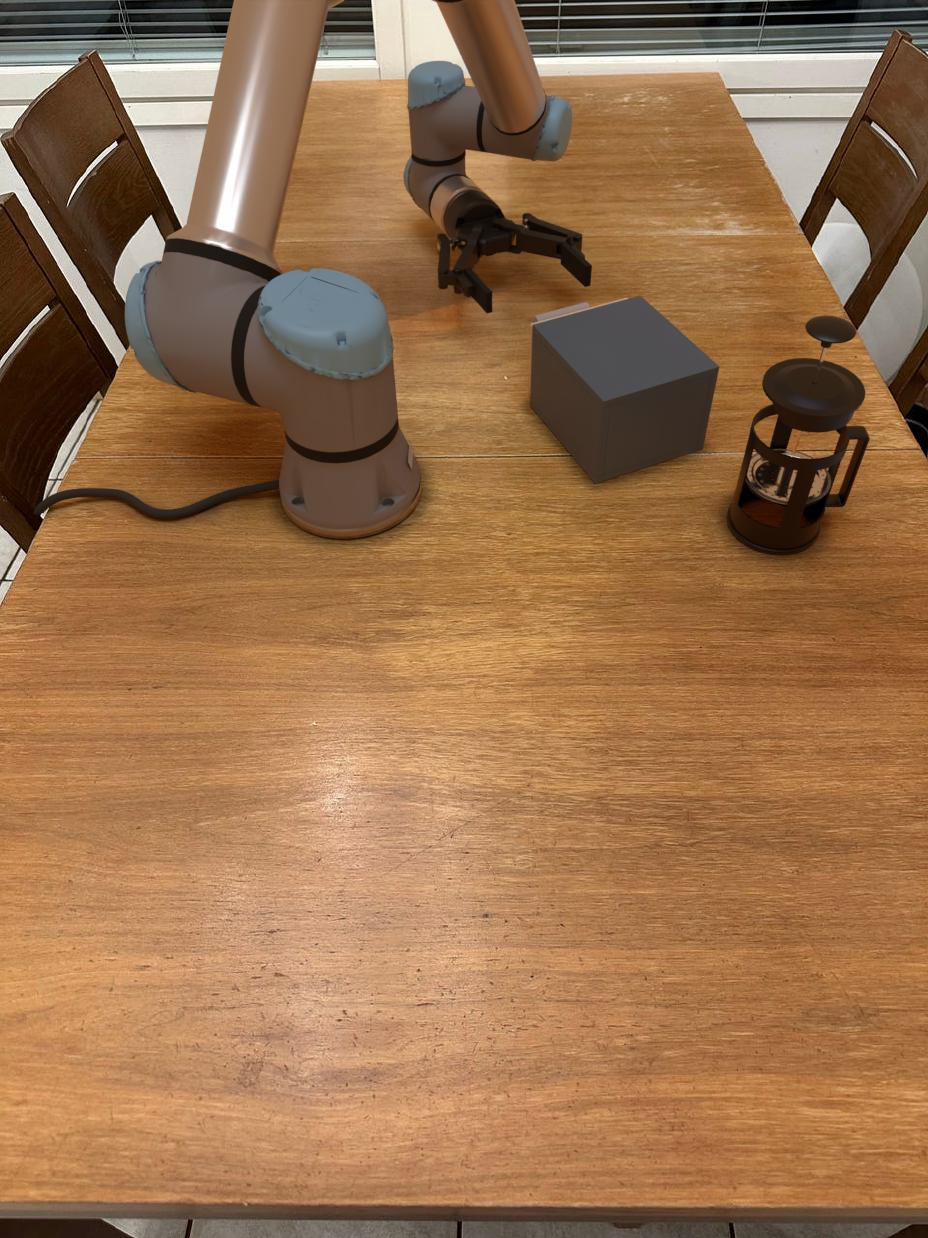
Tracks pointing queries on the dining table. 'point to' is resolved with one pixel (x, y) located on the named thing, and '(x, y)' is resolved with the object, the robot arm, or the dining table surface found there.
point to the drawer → (557, 314)
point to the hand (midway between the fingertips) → (539, 289)
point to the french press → (788, 477)
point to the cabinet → (621, 387)
